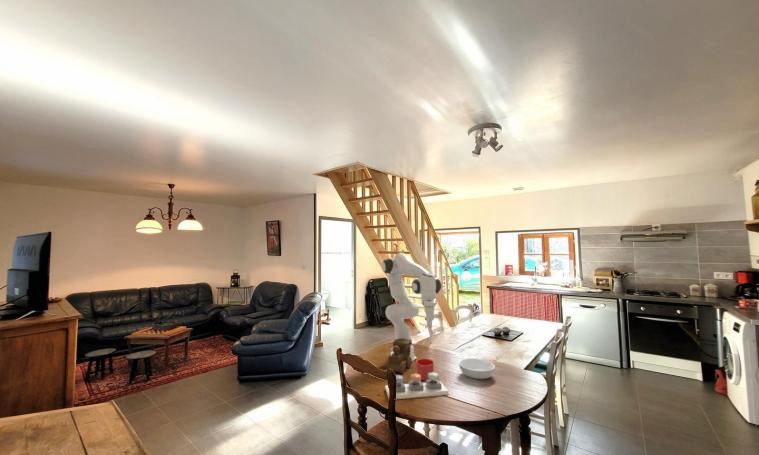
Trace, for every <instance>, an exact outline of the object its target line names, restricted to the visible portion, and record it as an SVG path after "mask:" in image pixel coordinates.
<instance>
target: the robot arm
mask: <svg viewBox="0 0 759 455" xmlns="http://www.w3.org/2000/svg"><path fill="white" fill-rule="evenodd" d="M381 268H382V272H383V273H384V274H388V276H387V277H388V287H389V291H390V296H391V297H392V299H394V300H396V301H397V302H398V303H393V304H390V305H388V306H386V307H385V311H384V312H385V317H386V318H387V319H388V320H389V321H390V322H391V323H392V325H393V328H394V333H395V334H394V341H395V340H397V339H409V340H412V333H411V332H412V330H411V327H410V325H408V324H406V323H405V321H404V320H407V319H413V318H415V317H417V316H418V315H419V314H420V308H419V305H418V304H417V303H415V302H414V301H413V300H412V299H411V298H410V297H409V295H408V292H407V290H406V289H407V288H406V286H405V281H404V279H403V275H404V276H406V277H416V278H415V279H414V280H413V281H412V283H411V289H412V291H413V293H414V294H417V295H420V296H421V297H420V298H421V300H420V301H421V305H422V306H423V307H424V311H425V317H426V321H427V323H428V328H430V329H431V328H433V321H434V318H435V307H436V305H437V303H438V302H437V295H438V293H439V292H440V291H441V289H442V282H441V280H440V278H438V277H436V276H435V275H434V274H433V273H431V272H429V271H428V270H427V269H426V268H425V267H423V266H421V265H420V264H418V263H416V262H415V261H413V260H412V259H411V258H410V257H409V256H408V255H407V254H406V253H404V252H398V253H397V254H395V256H394V257H393V258H387V259H384V260H383V262H382V263H381ZM393 347H394V346H393V345H392V347H391V348H390V356H391V355H392V354H394V352H393V350H392V349H393ZM410 347H411V349H410V357H411V359H412V362H414V360H418V359H417V356H416V355H415V346H413V344H412V345H411V346H410ZM390 356H389V357H390Z"/></svg>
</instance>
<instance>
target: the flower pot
mask: <svg viewBox="0 0 759 455" xmlns="http://www.w3.org/2000/svg"><path fill="white" fill-rule="evenodd" d="M434 364H435V361H434V360H432V359H429V358H420V359H416V361H415V366H416V371H417V374H420V375H421V381H423V382H426V380H430V379H429V378H428V374H429V373H431V372H434Z"/></svg>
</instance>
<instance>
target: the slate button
mask: <svg viewBox="0 0 759 455" xmlns="http://www.w3.org/2000/svg"><path fill="white" fill-rule="evenodd" d="M395 375H396V380H397V386H400V383H402V382H403V383H404V377H403V375H400V374H395Z"/></svg>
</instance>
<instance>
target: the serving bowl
mask: <svg viewBox="0 0 759 455" xmlns="http://www.w3.org/2000/svg"><path fill="white" fill-rule="evenodd" d="M458 365H459V366H458V367H459V369H460V371H461V373H463V375H465V376H467V377H469V378H472V379H477V380H482V379H484V380H485V379H488V378H490V377H492V376H493V375H494V373H495V369H496V366H495V364H493V363H492V362H491V361H488V360H485V359H480V358H464V359H461V360H460V361H459V362H458Z"/></svg>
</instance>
